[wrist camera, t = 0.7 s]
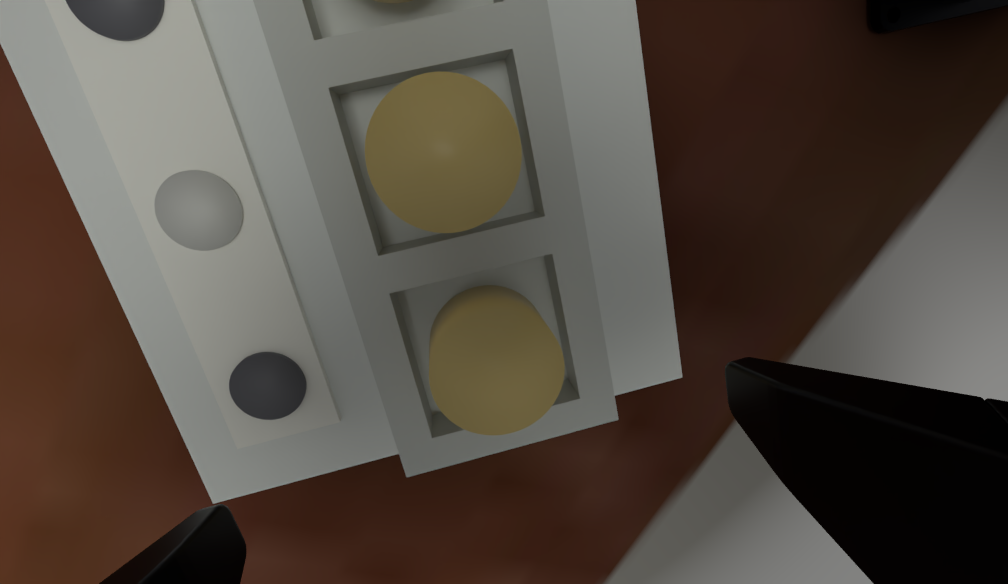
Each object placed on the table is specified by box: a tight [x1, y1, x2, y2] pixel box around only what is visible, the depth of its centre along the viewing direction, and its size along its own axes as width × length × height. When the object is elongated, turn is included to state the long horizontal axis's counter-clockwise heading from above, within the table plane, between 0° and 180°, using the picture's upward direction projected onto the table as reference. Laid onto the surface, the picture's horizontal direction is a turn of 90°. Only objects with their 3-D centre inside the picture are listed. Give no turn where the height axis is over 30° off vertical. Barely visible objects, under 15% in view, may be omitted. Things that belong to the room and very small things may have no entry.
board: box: [0, 0, 682, 504], centre depth 16 cm, size 18×20×3 cm
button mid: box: [365, 72, 522, 233], centre depth 13 cm, size 4×4×3 cm
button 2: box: [429, 285, 565, 435], centre depth 15 cm, size 4×4×3 cm
